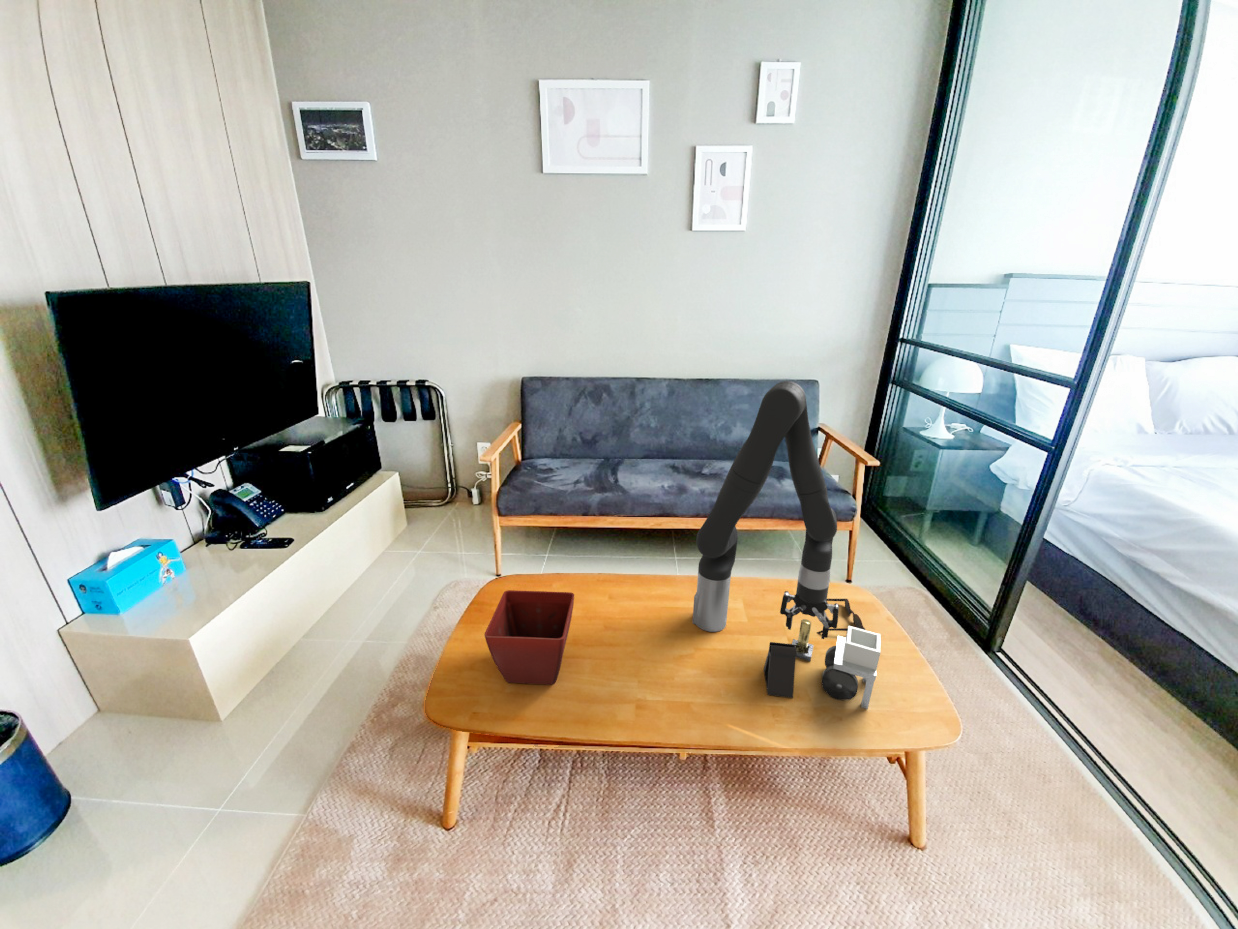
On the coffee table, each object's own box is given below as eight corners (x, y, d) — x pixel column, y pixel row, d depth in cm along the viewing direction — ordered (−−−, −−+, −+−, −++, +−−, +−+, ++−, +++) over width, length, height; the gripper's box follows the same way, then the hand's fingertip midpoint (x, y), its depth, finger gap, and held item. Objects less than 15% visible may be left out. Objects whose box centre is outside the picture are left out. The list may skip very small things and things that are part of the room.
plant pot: (508, 639, 142) (504, 589, 136) (576, 643, 141) (574, 591, 136) (488, 692, 124) (482, 636, 119) (565, 696, 124) (563, 639, 118)
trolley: (819, 694, 125) (825, 660, 121) (823, 665, 134) (829, 633, 130) (868, 710, 120) (876, 675, 116) (869, 679, 129) (876, 646, 126)
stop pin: (795, 654, 138) (800, 623, 134) (796, 648, 140) (801, 618, 137) (805, 657, 137) (810, 626, 133) (806, 651, 139) (811, 620, 136)
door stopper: (792, 698, 123) (799, 659, 119) (767, 695, 124) (772, 656, 120) (787, 672, 132) (793, 634, 127) (763, 669, 132) (768, 631, 128)
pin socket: (789, 655, 137) (790, 651, 137) (792, 643, 142) (793, 639, 141) (810, 661, 135) (811, 657, 135) (812, 649, 140) (813, 645, 139)
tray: (843, 660, 121) (846, 643, 119) (845, 642, 127) (848, 625, 125) (876, 670, 118) (880, 652, 116) (876, 651, 124) (880, 634, 122)
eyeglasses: (863, 638, 145) (866, 623, 143) (811, 636, 145) (813, 622, 144) (844, 606, 159) (846, 593, 157) (796, 605, 159) (798, 592, 157)
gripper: (782, 580, 130) (776, 633, 135) (842, 595, 124) (833, 649, 129) (787, 567, 136) (781, 617, 142) (844, 579, 130) (836, 632, 136)
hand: (806, 632), depth 136 cm, fingers open, 8 cm apart
